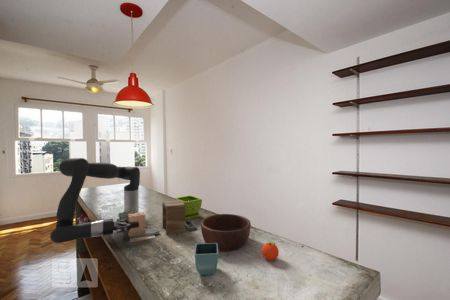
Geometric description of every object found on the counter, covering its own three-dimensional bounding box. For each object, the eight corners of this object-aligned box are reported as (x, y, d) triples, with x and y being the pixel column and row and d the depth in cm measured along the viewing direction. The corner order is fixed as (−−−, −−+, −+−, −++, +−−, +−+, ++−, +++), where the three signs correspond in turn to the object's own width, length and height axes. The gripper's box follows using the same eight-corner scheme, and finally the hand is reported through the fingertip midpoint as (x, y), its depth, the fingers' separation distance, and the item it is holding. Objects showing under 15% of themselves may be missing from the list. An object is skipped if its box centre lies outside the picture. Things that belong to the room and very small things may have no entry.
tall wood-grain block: (128, 233, 114) (128, 213, 114) (157, 228, 121) (157, 209, 121) (128, 238, 108) (128, 217, 108) (159, 233, 115) (159, 213, 115)
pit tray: (182, 223, 130) (182, 221, 130) (190, 222, 133) (190, 220, 132) (188, 231, 120) (188, 228, 120) (196, 229, 122) (196, 226, 122)
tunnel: (162, 227, 125) (162, 201, 125) (179, 224, 129) (179, 199, 129) (166, 235, 114) (166, 206, 114) (184, 231, 119) (184, 204, 118)
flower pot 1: (184, 222, 133) (184, 202, 133) (173, 216, 144) (173, 197, 144) (202, 217, 143) (202, 198, 142) (191, 212, 153) (191, 194, 153)
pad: (128, 232, 118) (128, 231, 118) (151, 228, 123) (151, 228, 123) (130, 242, 105) (130, 242, 105) (155, 237, 111) (155, 237, 111)
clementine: (267, 252, 96) (268, 237, 96) (282, 257, 92) (282, 241, 92) (259, 259, 90) (259, 243, 90) (274, 265, 86) (274, 248, 85)
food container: (128, 231, 119) (127, 213, 118) (118, 230, 120) (118, 213, 120) (140, 223, 131) (140, 207, 130) (132, 222, 132) (132, 206, 132)
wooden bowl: (255, 235, 114) (255, 216, 114) (243, 258, 91) (243, 235, 91) (212, 229, 123) (212, 211, 122) (191, 249, 99) (191, 227, 99)
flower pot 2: (195, 265, 86) (195, 243, 85) (217, 264, 86) (217, 242, 86) (194, 278, 77) (194, 254, 77) (218, 277, 78) (218, 253, 77)
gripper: (101, 225, 99) (139, 219, 107) (103, 216, 112) (137, 211, 119) (101, 241, 99) (139, 234, 107) (103, 230, 112) (137, 224, 120)
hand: (138, 222), depth 113 cm, fingers open, 6 cm apart
